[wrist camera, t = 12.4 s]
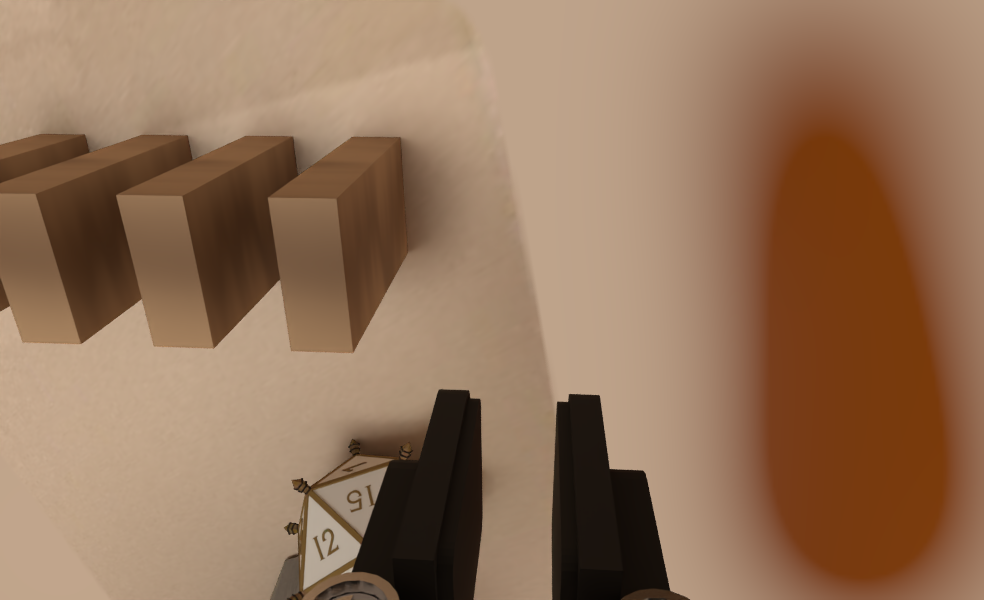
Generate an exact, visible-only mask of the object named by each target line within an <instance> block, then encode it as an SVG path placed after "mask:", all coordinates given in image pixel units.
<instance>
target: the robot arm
mask: <svg viewBox="0 0 984 600" xmlns="http://www.w3.org/2000/svg"><path fill="white" fill-rule="evenodd" d="M568 400H569V401H568V402H557V413H556V437H555V461H554V484H553V508H552V600H690V599H688V598H687V597H685V596H682V595H680V594H677V593H674V592H672V591H670V588H669V583H668V578H667V573H666V568H665V564H664V559H663V554H662V549H661V544H660V540H659V535H658V530H657V526H656V520H655V516H654V511H653V506H652V502H651V497H650V492H649V487H648V482H647V478H646V474H645V472H644V471H639V470H617V469H616V470H615V469H609V461H608V453H607V446H606V438H605V431H604V424H603V417H602V409H601V402H600V396H599V395H580V394H569V399H568ZM481 532H482V448H481V400H480V399H472V398H470V392H469V390H443V389H440V390H439V391H438V394H437V397H436V401H435V405H434V408H433V412H432V415H431V419H430V423H429V426H428V430H427V434H426V437H425V441H424V444H423V448H422V452H421V455H420V459H419V461H413V460H391V461H390V462H389V465H388V467H387V470H386V472H385V475H384V478H383V481H382V484H381V487H380V490H379V493H378V496H377V499H376V502H375V505H374V508H373V511H372V514H371V517H370V520H369V522H368V525H367V528H366V531H365V534H364V537H363V540H362V543H361V546H360V549H359V552H358V555H357V558H356V561H355V564H354V567H353V570H352V572H348V573H344V574H340V575H336V576H333V577H330V578H329V579H327V580H325V581H323V582H321V583H319V584H317V585H316V586H315V587H314V588H313V589H312V590H310V591H309V592H308V593H307V594H306V595H305V596H304V597H303V599H302V600H473V598H474V590H475V582H476V574H477V566H478V557H479V549H480V541H481Z"/></svg>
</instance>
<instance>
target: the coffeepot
mask: <svg viewBox="0 0 984 600" xmlns="http://www.w3.org/2000/svg"><path fill="white" fill-rule="evenodd" d="M298 592H299V556H297V557H295V558H292V559H288V560H285V562H284V565H283V568H282V570H281V573H280V575H279V578H278V581H277V583H276V586H275V588H274V591H273V594H272V596H271V599H270V600H287V598H290V597H291V596H292V594H296V593H298Z"/></svg>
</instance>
